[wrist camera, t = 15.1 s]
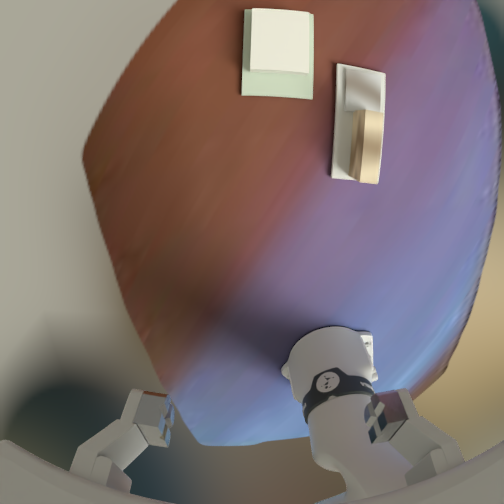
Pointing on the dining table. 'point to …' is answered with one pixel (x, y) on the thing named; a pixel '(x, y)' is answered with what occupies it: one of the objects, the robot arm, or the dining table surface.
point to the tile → (279, 41)
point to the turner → (364, 124)
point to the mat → (273, 81)
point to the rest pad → (347, 124)
